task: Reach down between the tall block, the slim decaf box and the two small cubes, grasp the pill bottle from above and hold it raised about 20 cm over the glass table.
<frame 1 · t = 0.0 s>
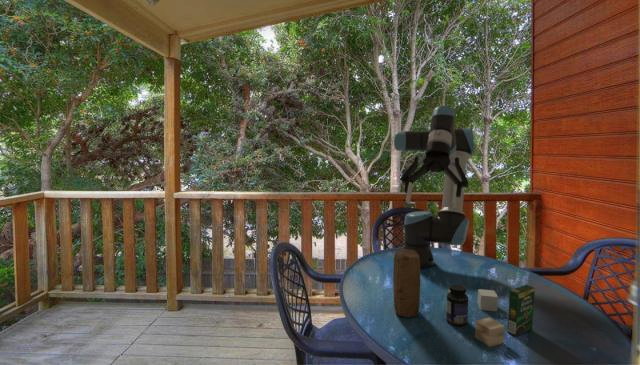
hand: (429, 204, 105), 36 cm above the table, tool tilted 35°, fingers open, 13 cm apart
pill bottle: (456, 322, 105), on the table
coffee box: (519, 332, 100), on the table
birch cube: (488, 340, 95), on the table
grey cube: (487, 307, 114), on the table
block: (405, 311, 112), on the table
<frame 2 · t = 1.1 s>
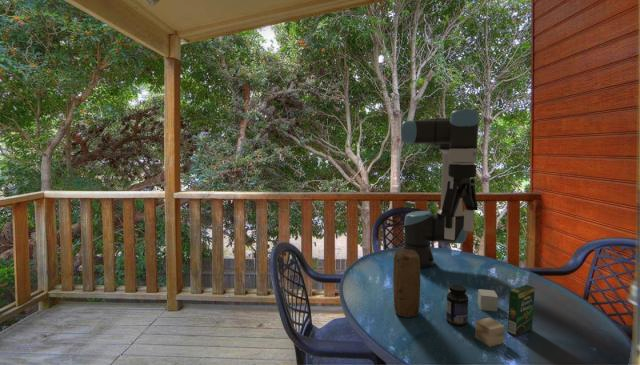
hand: (459, 234, 102), 27 cm above the table, tool pointing down, fingers open, 13 cm apart
nothing on the table moved.
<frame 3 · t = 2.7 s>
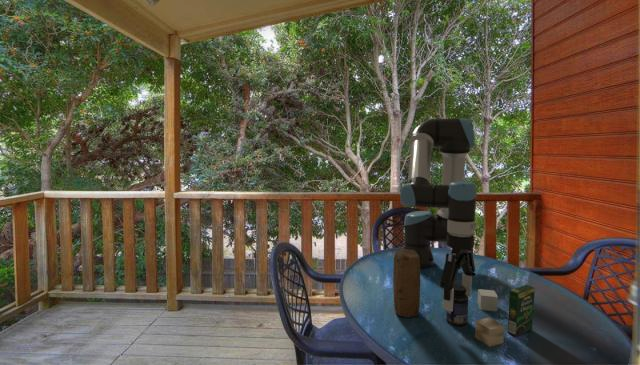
hand: (457, 302, 104), 6 cm above the table, tool pointing down, fingers open, 13 cm apart
nothing on the table moved.
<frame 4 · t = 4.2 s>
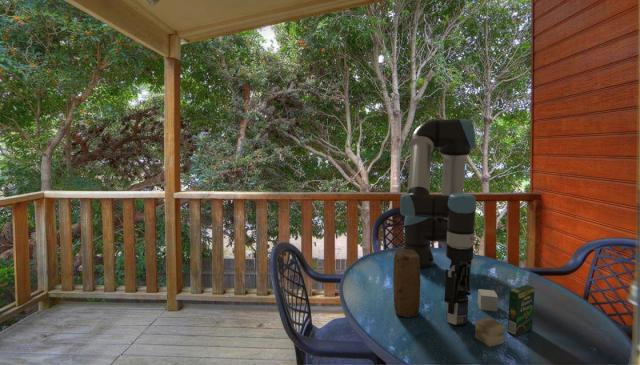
hand: (456, 318, 105), 1 cm above the table, tool pointing down, fingers closed on pill bottle, 6 cm apart
pill bottle: (456, 322, 105), on the table, touching gripper
everything else where it was.
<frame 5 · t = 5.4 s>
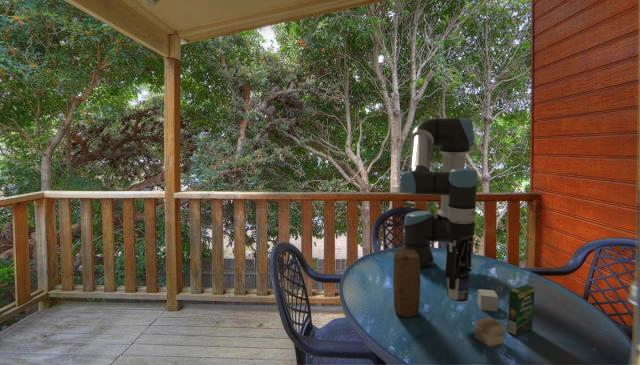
hand: (457, 294, 105), 8 cm above the table, tool pointing down, fingers closed on pill bottle, 6 cm apart
pill bottle: (457, 298, 105), point 7 cm above the table, touching gripper
everything else where it was.
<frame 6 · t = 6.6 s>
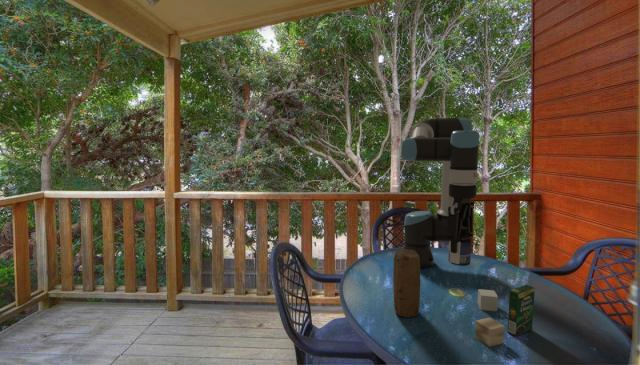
hand: (459, 259, 103), 19 cm above the table, tool pointing down, fingers closed on pill bottle, 6 cm apart
pill bottle: (459, 263, 103), point 18 cm above the table, touching gripper
everything else where it was.
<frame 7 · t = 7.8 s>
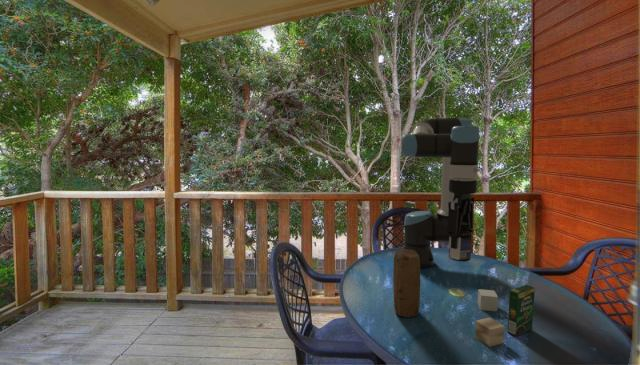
hand: (459, 255, 103), 21 cm above the table, tool pointing down, fingers closed on pill bottle, 6 cm apart
pill bottle: (459, 259, 103), point 20 cm above the table, touching gripper
everything else where it was.
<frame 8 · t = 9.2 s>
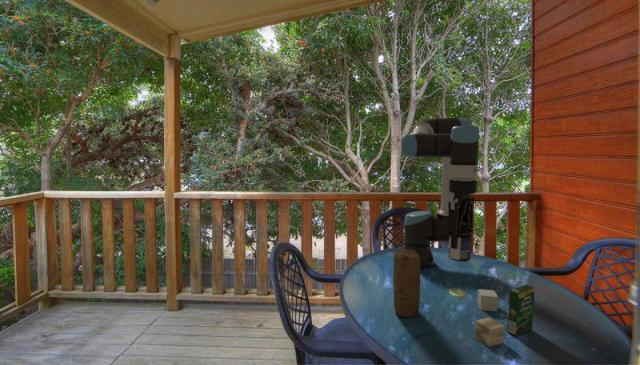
hand: (459, 255, 103), 21 cm above the table, tool pointing down, fingers closed on pill bottle, 6 cm apart
pill bottle: (459, 259, 103), point 20 cm above the table, touching gripper
everything else where it was.
at the end: the gripper is holding pill bottle; pill bottle point 19.7 cm above the table; birch cube moved 0.1 cm from its start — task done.
